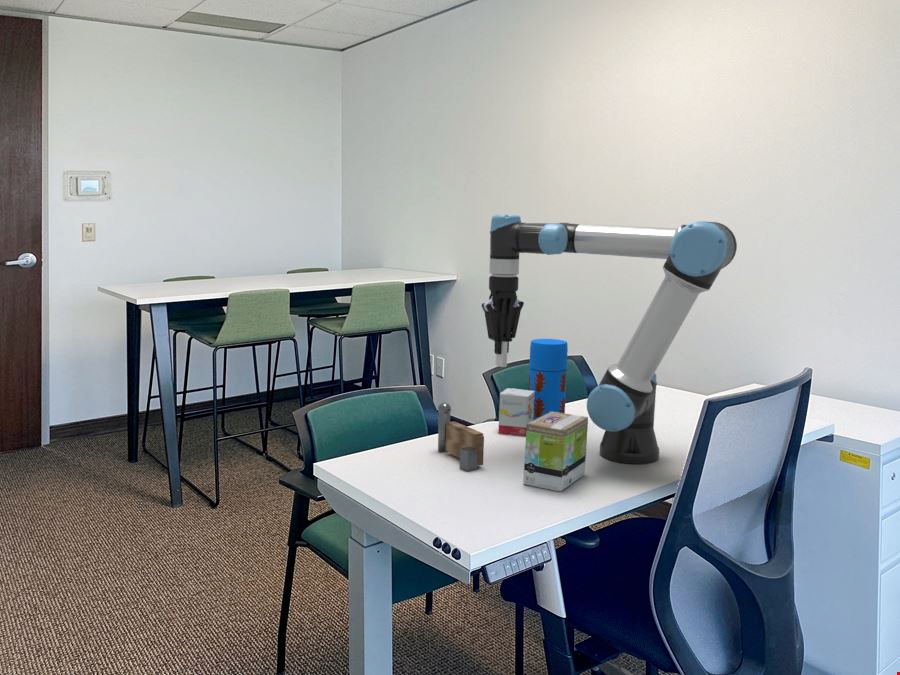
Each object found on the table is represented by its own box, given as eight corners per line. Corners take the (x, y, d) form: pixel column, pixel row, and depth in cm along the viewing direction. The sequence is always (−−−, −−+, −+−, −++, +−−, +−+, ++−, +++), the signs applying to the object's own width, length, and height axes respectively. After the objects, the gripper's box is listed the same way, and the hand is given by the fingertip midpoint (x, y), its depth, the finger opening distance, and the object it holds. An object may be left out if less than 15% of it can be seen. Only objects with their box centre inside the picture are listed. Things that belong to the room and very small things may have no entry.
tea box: (562, 493, 183) (565, 429, 181) (522, 485, 188) (524, 422, 186) (586, 475, 196) (589, 415, 194) (547, 467, 201) (549, 409, 199)
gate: (445, 451, 210) (445, 421, 209) (452, 450, 211) (453, 420, 210) (476, 466, 198) (476, 435, 197) (483, 464, 199) (484, 433, 198)
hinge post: (452, 451, 212) (453, 403, 210) (442, 453, 210) (443, 405, 208) (444, 448, 215) (445, 400, 213) (434, 450, 213) (435, 402, 211)
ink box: (527, 437, 228) (528, 395, 226) (497, 433, 231) (498, 392, 229) (533, 429, 236) (535, 389, 234) (505, 426, 239) (506, 386, 237)
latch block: (476, 469, 198) (477, 449, 198) (467, 471, 196) (468, 451, 196) (468, 466, 201) (469, 446, 200) (459, 468, 199) (460, 448, 198)
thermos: (554, 431, 233) (557, 345, 230) (521, 425, 239) (524, 341, 235) (570, 424, 242) (573, 341, 239) (537, 418, 248) (541, 337, 244)
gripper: (512, 273, 215) (509, 361, 219) (475, 275, 207) (472, 366, 211) (532, 275, 210) (529, 365, 213) (495, 277, 201) (492, 371, 205)
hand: (501, 365), depth 212 cm, fingers closed
